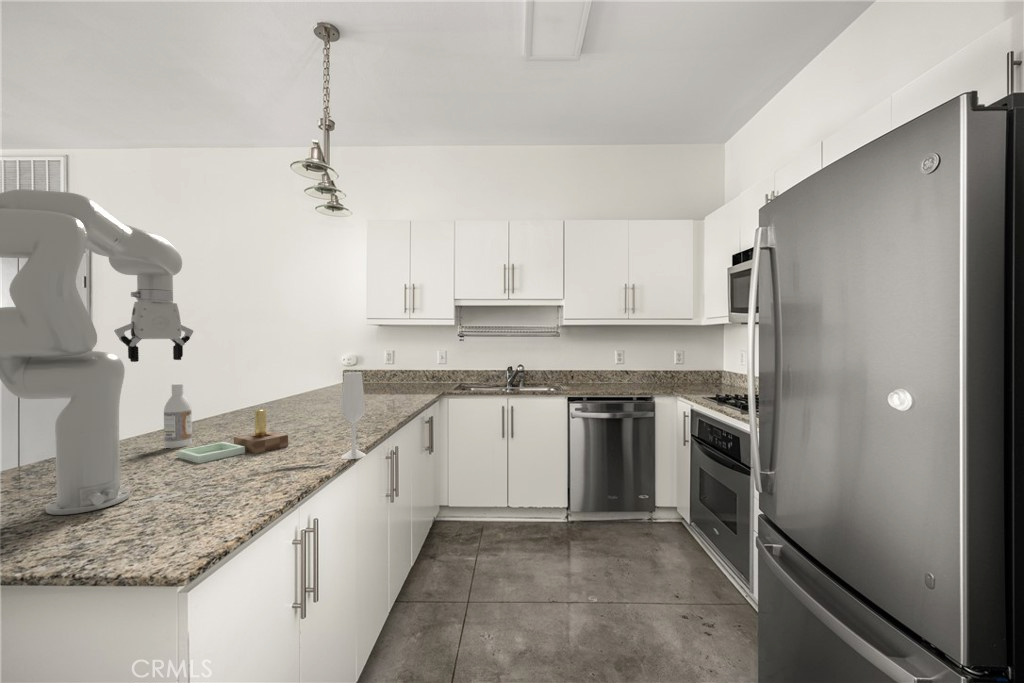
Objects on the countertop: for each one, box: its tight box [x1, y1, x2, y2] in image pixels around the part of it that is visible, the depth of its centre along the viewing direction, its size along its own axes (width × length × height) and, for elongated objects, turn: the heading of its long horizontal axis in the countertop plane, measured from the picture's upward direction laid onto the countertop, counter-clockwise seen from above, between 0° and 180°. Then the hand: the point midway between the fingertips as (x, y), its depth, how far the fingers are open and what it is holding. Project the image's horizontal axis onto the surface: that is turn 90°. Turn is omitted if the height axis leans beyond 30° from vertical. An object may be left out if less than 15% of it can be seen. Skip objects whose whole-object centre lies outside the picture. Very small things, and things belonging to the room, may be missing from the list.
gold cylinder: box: [254, 408, 267, 438], centre depth 136 cm, size 3×3×12 cm
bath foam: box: [163, 383, 193, 449], centre depth 139 cm, size 7×7×20 cm
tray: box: [177, 441, 246, 464], centre depth 127 cm, size 12×12×2 cm
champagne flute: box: [340, 371, 367, 460], centre depth 127 cm, size 7×7×24 cm
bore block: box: [233, 430, 289, 454], centre depth 136 cm, size 12×10×4 cm
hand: (156, 360), depth 119 cm, fingers open, 9 cm apart
